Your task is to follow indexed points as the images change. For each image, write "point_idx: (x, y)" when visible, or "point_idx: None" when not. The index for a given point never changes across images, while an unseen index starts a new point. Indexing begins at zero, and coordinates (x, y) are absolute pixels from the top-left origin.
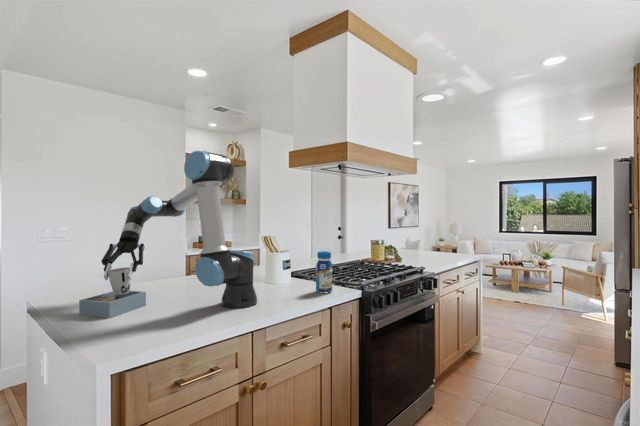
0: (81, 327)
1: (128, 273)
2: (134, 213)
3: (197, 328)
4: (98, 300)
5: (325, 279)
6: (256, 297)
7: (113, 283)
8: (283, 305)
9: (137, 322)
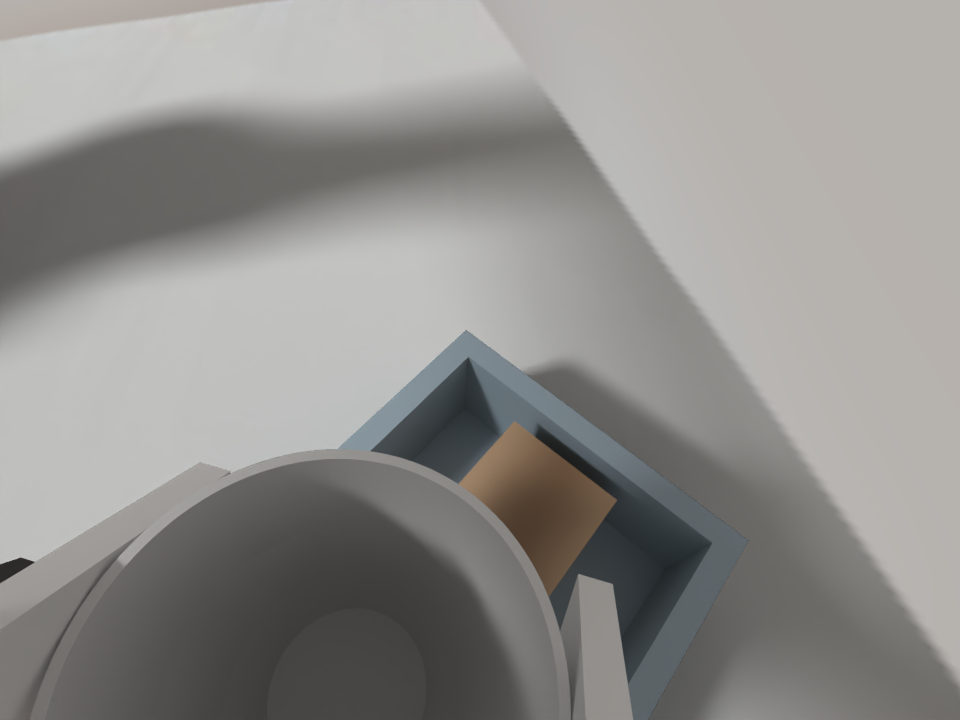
0: (588, 280)
1: (194, 491)
2: None
3: (99, 78)
4: (567, 463)
5: None
6: None
7: (447, 569)
8: None
9: (313, 246)
